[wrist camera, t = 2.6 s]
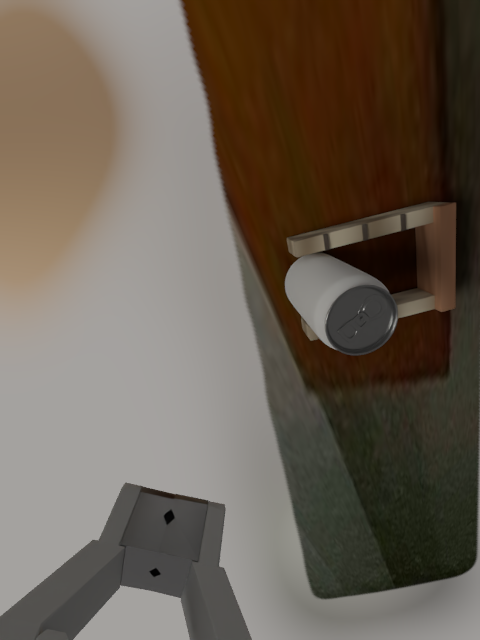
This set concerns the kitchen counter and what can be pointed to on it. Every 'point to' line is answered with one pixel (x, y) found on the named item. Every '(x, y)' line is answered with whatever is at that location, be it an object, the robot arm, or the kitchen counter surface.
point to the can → (341, 303)
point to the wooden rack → (431, 252)
